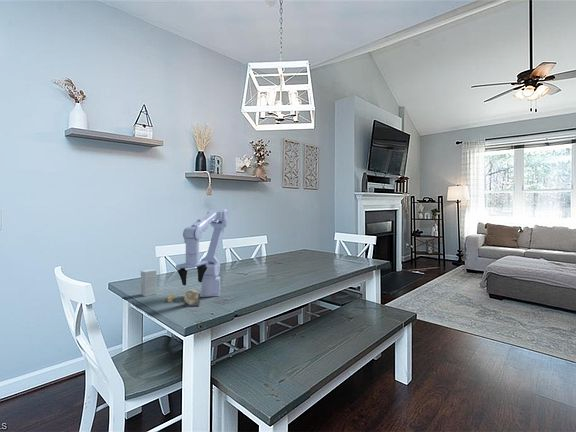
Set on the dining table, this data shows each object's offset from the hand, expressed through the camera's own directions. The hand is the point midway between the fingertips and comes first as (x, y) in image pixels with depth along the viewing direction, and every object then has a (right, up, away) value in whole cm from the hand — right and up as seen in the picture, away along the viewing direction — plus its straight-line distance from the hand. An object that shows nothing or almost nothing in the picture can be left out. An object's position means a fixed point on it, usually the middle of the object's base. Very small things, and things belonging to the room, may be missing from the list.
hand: (192, 283), depth 132 cm
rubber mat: (0, -9, 0) cm, 9 cm away
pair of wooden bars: (-8, -9, +6) cm, 14 cm away
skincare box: (-26, -9, +13) cm, 30 cm away
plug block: (0, -9, 0) cm, 9 cm away
